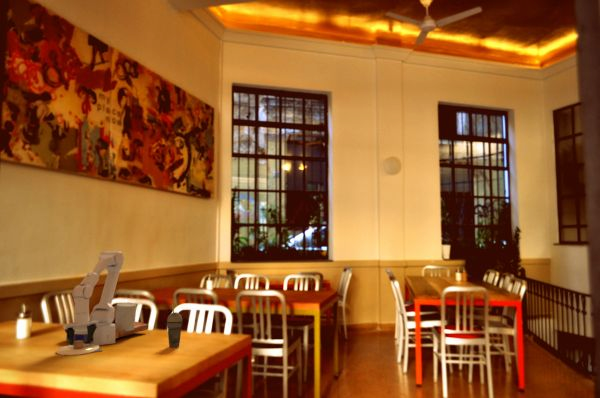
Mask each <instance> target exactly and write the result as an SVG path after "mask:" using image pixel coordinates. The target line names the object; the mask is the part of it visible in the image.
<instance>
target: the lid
mask: <svg viewBox="0 0 600 398" xmlns="http://www.w3.org/2000/svg"><path fill="white" fill-rule="evenodd" d="M99 348H100V345H97V344H92V343H84V341H83V340H78V341H74V343H73V345H70V344H68V345H64V346H62V347H59V348H58V349H56V354H57V355H61V356H64V355H68V356H79V355H85V354H92V353H91V352H93V353H95V352H94V351H97V350H98V349H99Z"/></svg>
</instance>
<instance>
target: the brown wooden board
mask: <svg viewBox="0 0 600 398" xmlns="http://www.w3.org/2000/svg"><path fill="white" fill-rule="evenodd" d="M146 330H149V324H148V323H143V322H140V321H135V326H134V330H131V331H125V330H116V329H115V339H118V338H122V337H126V336H130V335H134V334H136V333H137V334H138V333H139V332H144V331H146ZM93 335H94V334H93ZM108 336H109V335H108ZM92 338H93V336H92ZM107 341H108V339H107Z"/></svg>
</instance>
